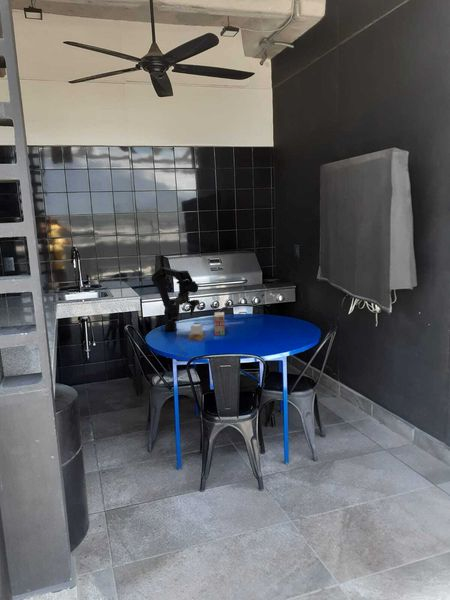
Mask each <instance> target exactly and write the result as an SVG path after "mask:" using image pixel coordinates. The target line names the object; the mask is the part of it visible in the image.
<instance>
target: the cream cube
mask: <svg viewBox="0 0 450 600" xmlns="http://www.w3.org/2000/svg"><path fill="white" fill-rule="evenodd" d="M202 331H203V324H202V323H201V324H199V323H194V324H191V325H190V333H191V334H200V333H202Z"/></svg>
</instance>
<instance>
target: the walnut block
mask: <svg viewBox="0 0 450 600" xmlns="http://www.w3.org/2000/svg"><path fill="white" fill-rule="evenodd" d="M205 338H206V332H205V331H203V330H202V333H200V334H191V332H189V334H188V341H194V342H195V341H196V342H197V341H199V342H202V341H203V340H204V339H205Z"/></svg>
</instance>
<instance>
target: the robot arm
mask: <svg viewBox="0 0 450 600" xmlns="http://www.w3.org/2000/svg"><path fill="white" fill-rule="evenodd" d="M167 276H170V277H173V278H174V279H176V281H177V282H176V284H178V294H177V296H176V297H175V298H172V299H171V298H170V296H169V292H168V290H167V287H166V278H167ZM151 281H152V283H153V285H154V286H155V287H156V288H157V289H158V293H159V296H160V298H161V301H162V304H163V307H164V312H163V313H164V316H163V317H162V318H161V321H162V322H163V323H164V330H163V331H164V332H172V333H173V332H175V331H177V330H178V328H177V323H176V321H178V319H179V316H180V306H182V305H184V304H186V305H189V308H190V309H189V312H190V315H189V316H190V317H193V314H194V311H195V310H196V307H197V306H198V305H200V300H199V299H191V298H190V297H189V295H190V293H193V294H195V293H197V292H198V291H199V286H198V284H197V283H196V281H194V280H193V278H192V277H191V275H190V272H189V271H188V270H177V269H172V268H170V267H166V266H164V267H160V268H159V269H158V270H157V271H155V272H154V273H153V274H152V275H151Z"/></svg>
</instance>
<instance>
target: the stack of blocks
mask: <svg viewBox="0 0 450 600" xmlns="http://www.w3.org/2000/svg"><path fill="white" fill-rule="evenodd" d="M213 317H214V318H213V320H214V321H213V322H214V336H225V334H226V333H225V331H226V329H225V328H226V327H225V311H216V312H214V315H213Z"/></svg>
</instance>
